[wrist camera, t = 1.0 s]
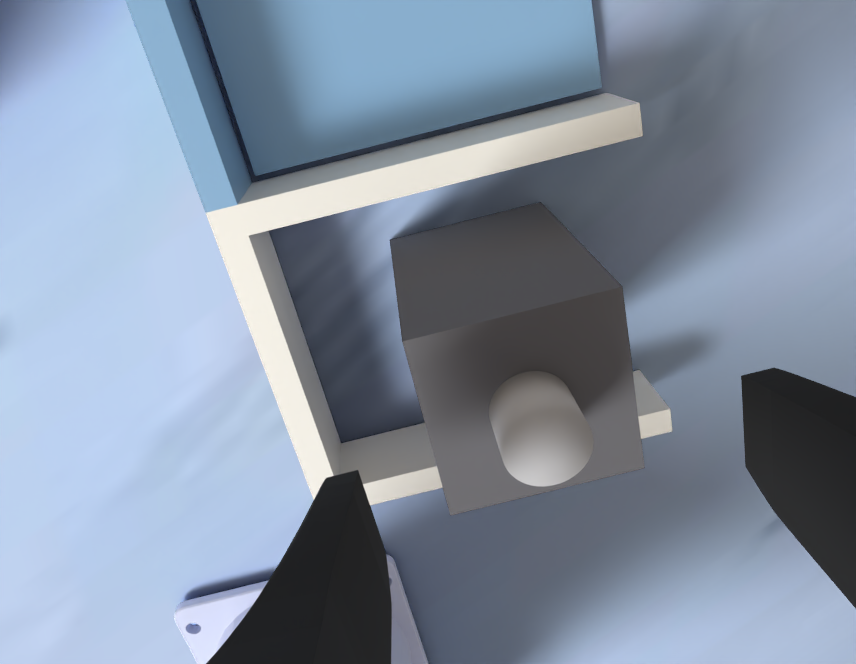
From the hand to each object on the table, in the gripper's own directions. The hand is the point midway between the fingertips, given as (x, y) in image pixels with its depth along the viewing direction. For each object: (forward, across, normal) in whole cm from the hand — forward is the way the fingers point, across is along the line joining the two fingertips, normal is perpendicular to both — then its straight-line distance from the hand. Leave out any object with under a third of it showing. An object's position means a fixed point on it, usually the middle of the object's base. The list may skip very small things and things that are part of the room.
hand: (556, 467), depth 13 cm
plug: (+9, 0, 0) cm, 9 cm away
